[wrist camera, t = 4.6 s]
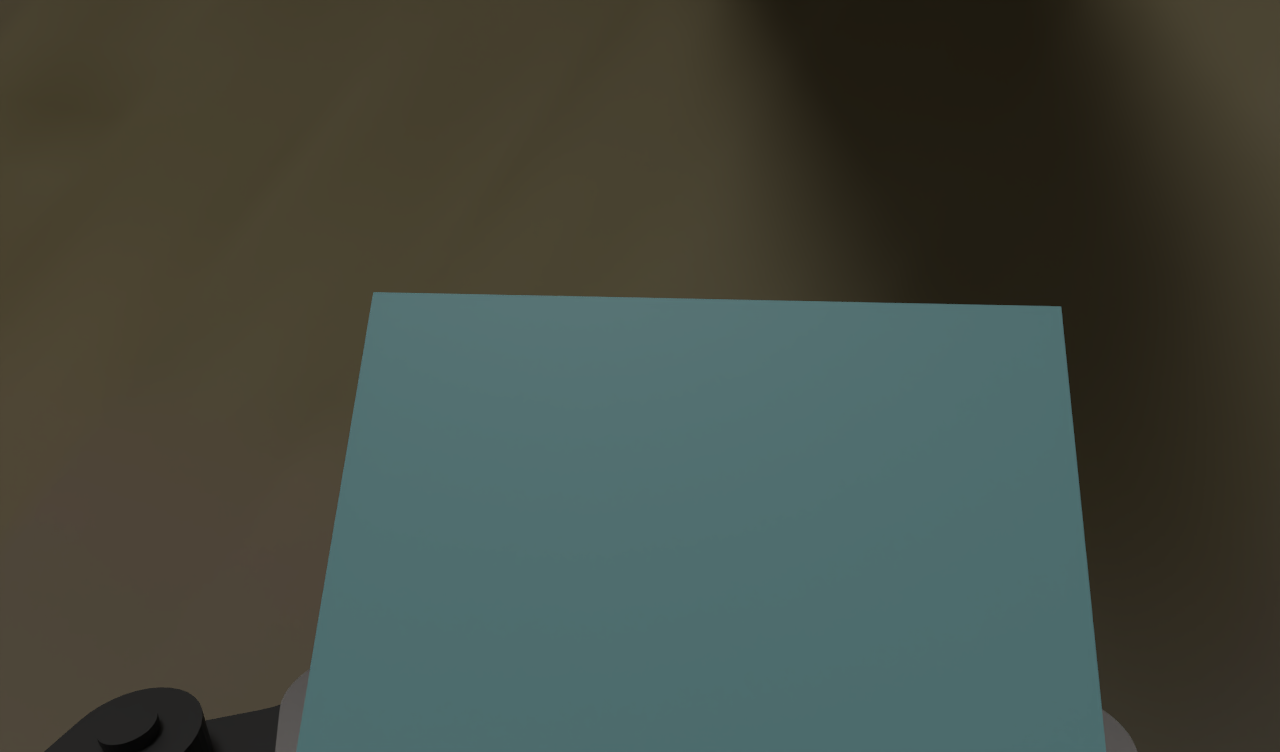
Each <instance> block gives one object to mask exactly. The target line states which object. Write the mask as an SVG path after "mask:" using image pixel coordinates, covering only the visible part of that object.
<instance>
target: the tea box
mask: <svg viewBox="0 0 1280 752" xmlns="http://www.w3.org/2000/svg"><path fill="white" fill-rule="evenodd" d="M296 752H1106V745H1105V735H1104V725H1103V715H1102V705H1101V695H1100V685H1099V676H1098V666H1097V656H1096V646H1095V636H1094V626H1093V616H1092V606H1091V596H1090V587H1089V577H1088V567H1087V557H1086V547H1085V537H1084V527H1083V517H1082V508H1081V498H1080V488H1079V478H1078V468H1077V458H1076V448H1075V438H1074V428H1073V419H1072V409H1071V399H1070V389H1069V379H1068V369H1067V359H1066V349H1065V340H1064V330H1063V320H1062V310H1061V306H1018V305H969V304H920V303H871V302H822V301H773V300H724V299H675V298H626V297H578V296H529V295H480V294H431V293H382V292H373V298H372V303H371V309H370V315H369V321H368V327H367V333H366V339H365V345H364V351H363V357H362V363H361V369H360V375H359V381H358V387H357V393H356V399H355V405H354V411H353V417H352V422H351V428H350V434H349V440H348V446H347V452H346V458H345V464H344V470H343V476H342V482H341V488H340V494H339V500H338V506H337V512H336V518H335V524H334V530H333V536H332V541H331V547H330V553H329V559H328V565H327V571H326V577H325V583H324V589H323V595H322V601H321V607H320V613H319V619H318V625H317V631H316V637H315V643H314V649H313V655H312V661H311V666H310V672H309V678H308V684H307V690H306V696H305V702H304V708H303V714H302V720H301V726H300V732H299V738H298V744H297V750H296Z"/></svg>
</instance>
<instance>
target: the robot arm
mask: <svg viewBox="0 0 1280 752" xmlns="http://www.w3.org/2000/svg"><path fill="white" fill-rule="evenodd" d="M309 672H310V670H308V671H306V672H305V673H304V674H303V675H301V676H300V677H299V678H298V679H297V680H296V681H295V682H294V683H293V684H292V685H291V686H290V688H289V689H288V690H287V692H286V693H285V695H284V697H283V699H282V702H281V705H278V706H275V707H271V708H267V709H263V710H258V711H253V712H248V713H243V714H237V715H232V716H227V717H222V718H216V719H211V720H206V721H205V718H204V715H203V711H202V708H201V706H200V703H199V702H198V701H197V699H196V698H195V697H194V696H192V695H191V694H189V693H188V692H185V691H182V690H180V689H174V688H149V689H144V690H139V691H135V692H132V693H129V694H125V695H123V696H120V697H118V698H115V699H113V700H111V701H109V702H107V703H105V704H103V705H101V706H100V707H98V708H97V709H95V710H93V711H92V712H90V713H89V714H88V715H86V716H85V717H84V718H83V719H81V720H80V721H79V722H78V723H77V724H75V725H74V726H73V727H72V728H71V729H70V730H69V731H67V732H66V733H65V734H64V735H63V736H62V737H61V738H59V739H58V740H57V741H56V742H55V743H54V744H53V745H51V746H50V747H49V748H48V749H47V750H46V751H45V752H296V750H297V744H298V738H299V732H300V726H301V720H302V714H303V708H304V702H305V696H306V690H307V684H308V678H309ZM1102 715H1103V725H1104V735H1105V745H1106V752H1137V750H1136V747H1135V744H1134V742H1133V741H1132V739H1131V737H1130V735H1129V734H1128V733H1127V732H1126V730H1125V729H1124V728H1123V727H1122V725H1120V724H1119V723H1118V722H1117V721H1116V720H1115V719H1114V718H1113V717H1112V716H1110V715H1109V714H1108V713H1106V712H1105V711H1104V710H1102Z"/></svg>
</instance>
